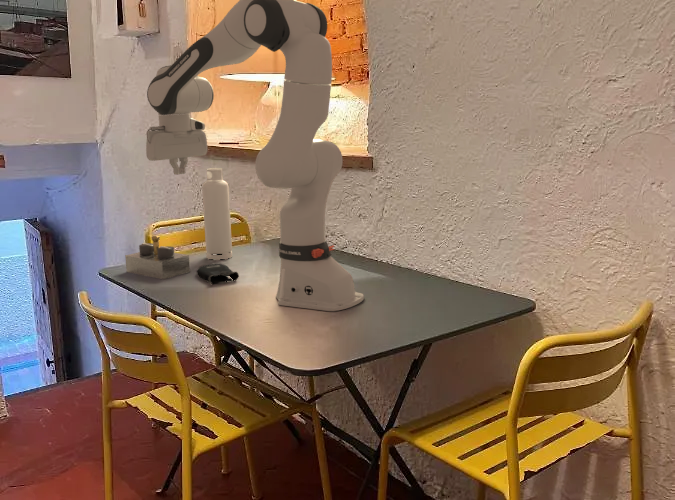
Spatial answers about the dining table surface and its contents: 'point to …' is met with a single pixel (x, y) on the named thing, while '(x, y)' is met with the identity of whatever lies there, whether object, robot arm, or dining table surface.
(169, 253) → the knob near
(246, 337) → the dining table surface
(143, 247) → the knob far
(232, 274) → the black pouch
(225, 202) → the bottle
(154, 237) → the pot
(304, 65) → the robot arm
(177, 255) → the mount
